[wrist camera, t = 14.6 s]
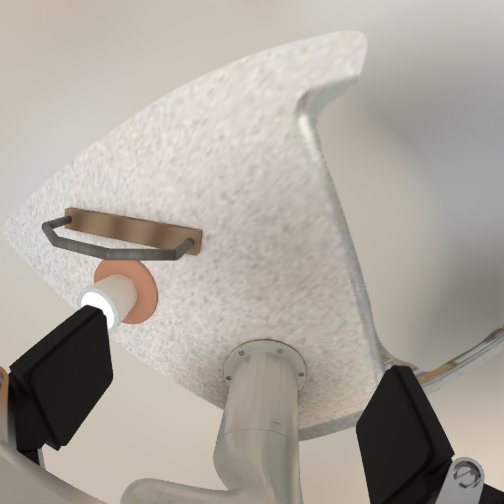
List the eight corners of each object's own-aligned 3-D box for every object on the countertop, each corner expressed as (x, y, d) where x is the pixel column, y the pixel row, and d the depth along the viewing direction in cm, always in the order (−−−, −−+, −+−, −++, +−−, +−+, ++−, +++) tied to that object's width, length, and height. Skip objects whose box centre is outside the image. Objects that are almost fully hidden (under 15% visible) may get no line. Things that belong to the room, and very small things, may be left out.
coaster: (172, 299, 40) (170, 302, 39) (128, 332, 42) (125, 334, 41) (124, 239, 38) (121, 240, 37) (85, 279, 40) (83, 281, 40)
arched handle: (202, 230, 36) (169, 255, 25) (199, 252, 37) (167, 285, 26) (70, 207, 37) (18, 221, 26) (70, 226, 38) (19, 244, 27)
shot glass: (126, 320, 41) (104, 343, 34) (96, 289, 40) (70, 307, 33) (149, 294, 39) (127, 316, 32) (116, 260, 38) (89, 276, 31)
